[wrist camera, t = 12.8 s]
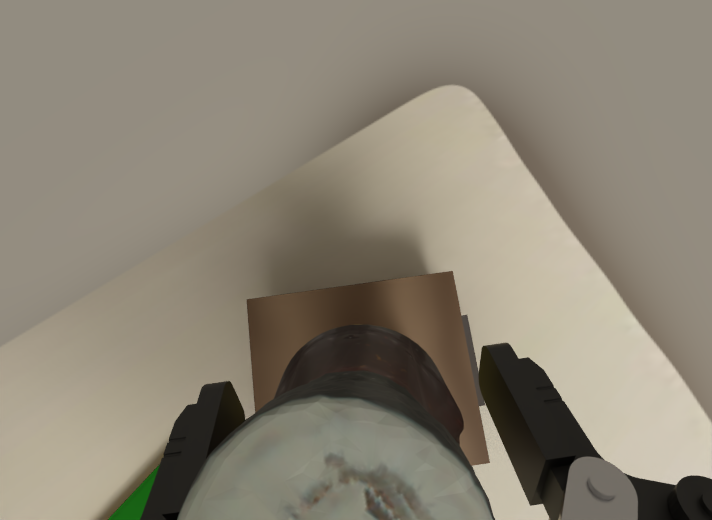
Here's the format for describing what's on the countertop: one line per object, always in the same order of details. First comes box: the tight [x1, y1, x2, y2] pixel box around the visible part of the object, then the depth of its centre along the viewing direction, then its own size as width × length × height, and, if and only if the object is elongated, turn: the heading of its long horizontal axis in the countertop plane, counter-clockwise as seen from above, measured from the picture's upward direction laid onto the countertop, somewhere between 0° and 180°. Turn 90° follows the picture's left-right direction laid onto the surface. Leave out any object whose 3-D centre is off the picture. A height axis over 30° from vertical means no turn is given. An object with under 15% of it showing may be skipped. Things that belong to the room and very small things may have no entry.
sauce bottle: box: [177, 324, 495, 520], centre depth 14 cm, size 7×6×20 cm
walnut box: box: [247, 271, 490, 466], centre depth 27 cm, size 15×12×7 cm
